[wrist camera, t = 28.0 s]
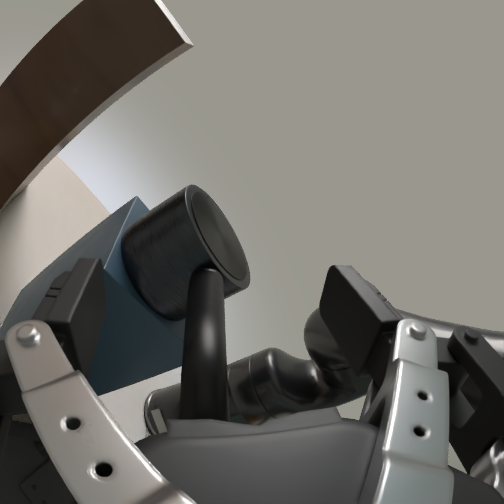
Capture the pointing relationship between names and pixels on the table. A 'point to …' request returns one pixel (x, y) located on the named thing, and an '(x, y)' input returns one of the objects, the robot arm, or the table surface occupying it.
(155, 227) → the saucepan
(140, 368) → the blue rectangular block
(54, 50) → the tall plinth
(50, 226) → the table surface
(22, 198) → the table surface
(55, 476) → the picture frame
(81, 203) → the table surface
